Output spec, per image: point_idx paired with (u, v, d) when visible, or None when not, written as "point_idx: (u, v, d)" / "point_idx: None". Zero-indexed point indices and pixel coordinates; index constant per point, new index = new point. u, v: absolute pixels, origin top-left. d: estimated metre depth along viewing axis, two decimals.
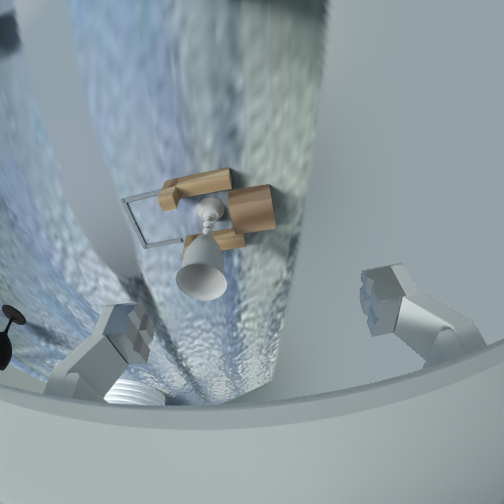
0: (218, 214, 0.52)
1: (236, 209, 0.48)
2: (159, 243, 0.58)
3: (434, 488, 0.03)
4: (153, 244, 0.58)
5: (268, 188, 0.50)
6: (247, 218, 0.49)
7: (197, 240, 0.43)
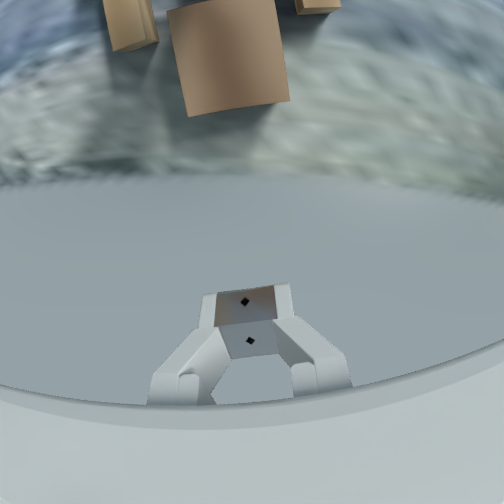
0: None
1: (259, 10, 0.12)
2: None
3: (434, 488, 0.03)
4: None
5: None
6: (226, 38, 0.13)
7: None
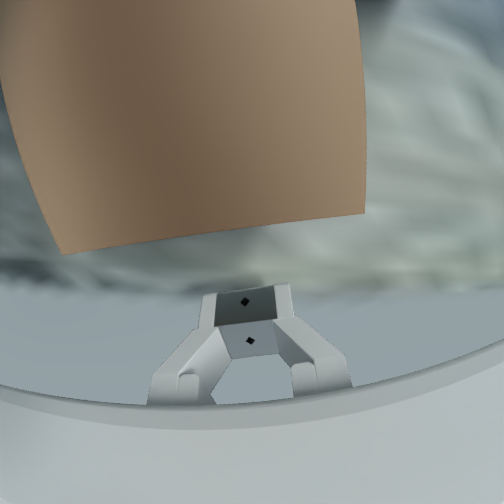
0: None
1: None
2: None
3: (434, 488, 0.03)
4: None
5: None
6: None
7: None
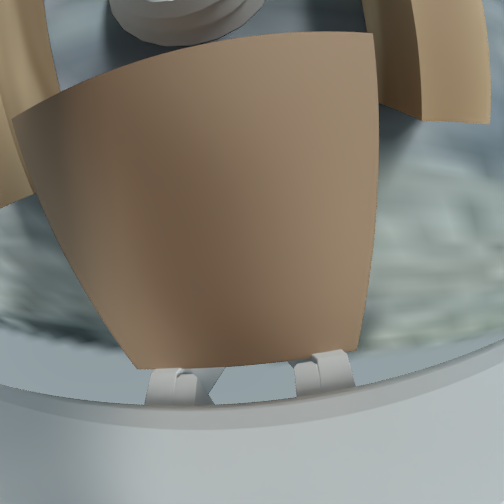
0: (178, 4, 0.05)
1: (322, 110, 0.04)
2: None
3: (434, 488, 0.03)
4: None
5: None
6: (198, 215, 0.05)
7: None
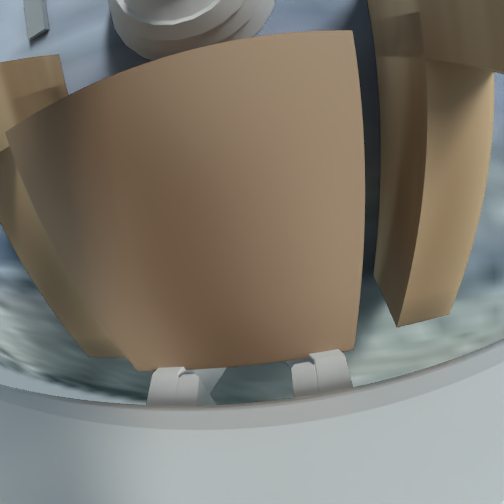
0: (179, 27, 0.05)
1: (303, 111, 0.04)
2: None
3: (434, 488, 0.03)
4: None
5: None
6: (186, 219, 0.05)
7: None
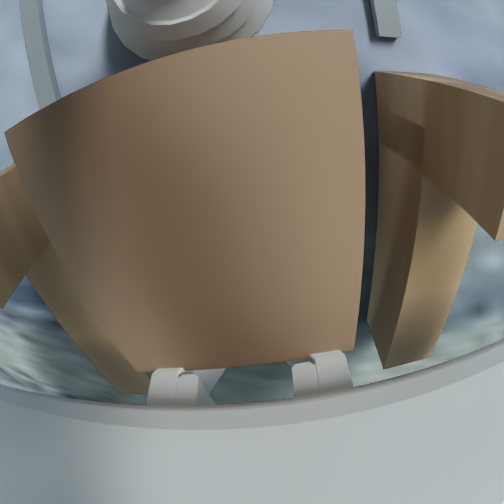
0: (177, 28, 0.05)
1: (303, 111, 0.04)
2: None
3: (434, 488, 0.03)
4: None
5: None
6: (186, 220, 0.05)
7: None
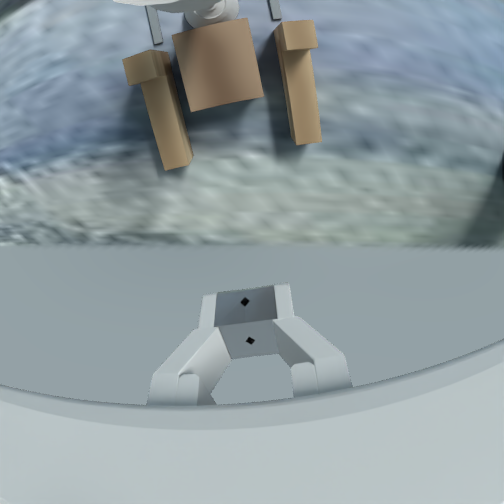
0: (211, 19, 0.20)
1: (238, 32, 0.18)
2: None
3: (434, 488, 0.03)
4: None
5: None
6: (215, 54, 0.19)
7: None
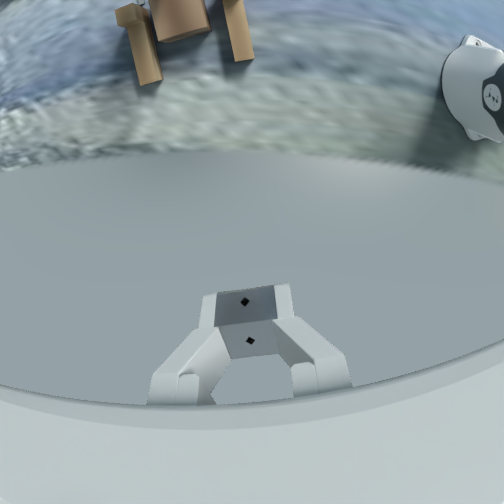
0: None
1: None
2: None
3: (434, 488, 0.03)
4: None
5: (210, 28, 0.29)
6: (175, 3, 0.25)
7: None
